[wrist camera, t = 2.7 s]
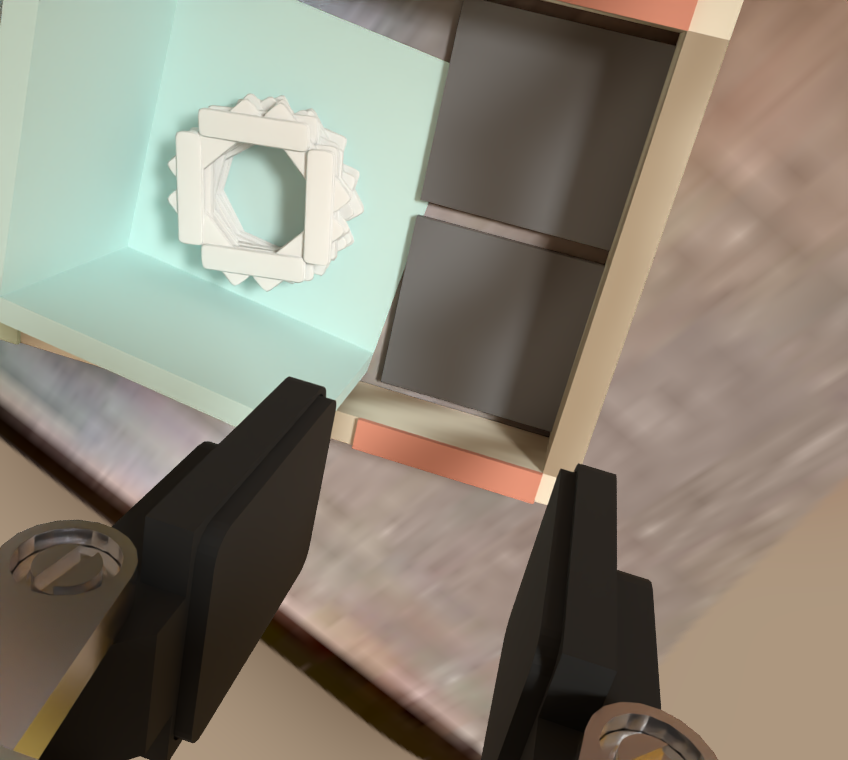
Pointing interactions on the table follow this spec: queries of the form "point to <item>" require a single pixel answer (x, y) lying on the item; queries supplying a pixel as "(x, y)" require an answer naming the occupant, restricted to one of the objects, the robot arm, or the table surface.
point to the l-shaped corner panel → (209, 189)
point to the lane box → (540, 211)
